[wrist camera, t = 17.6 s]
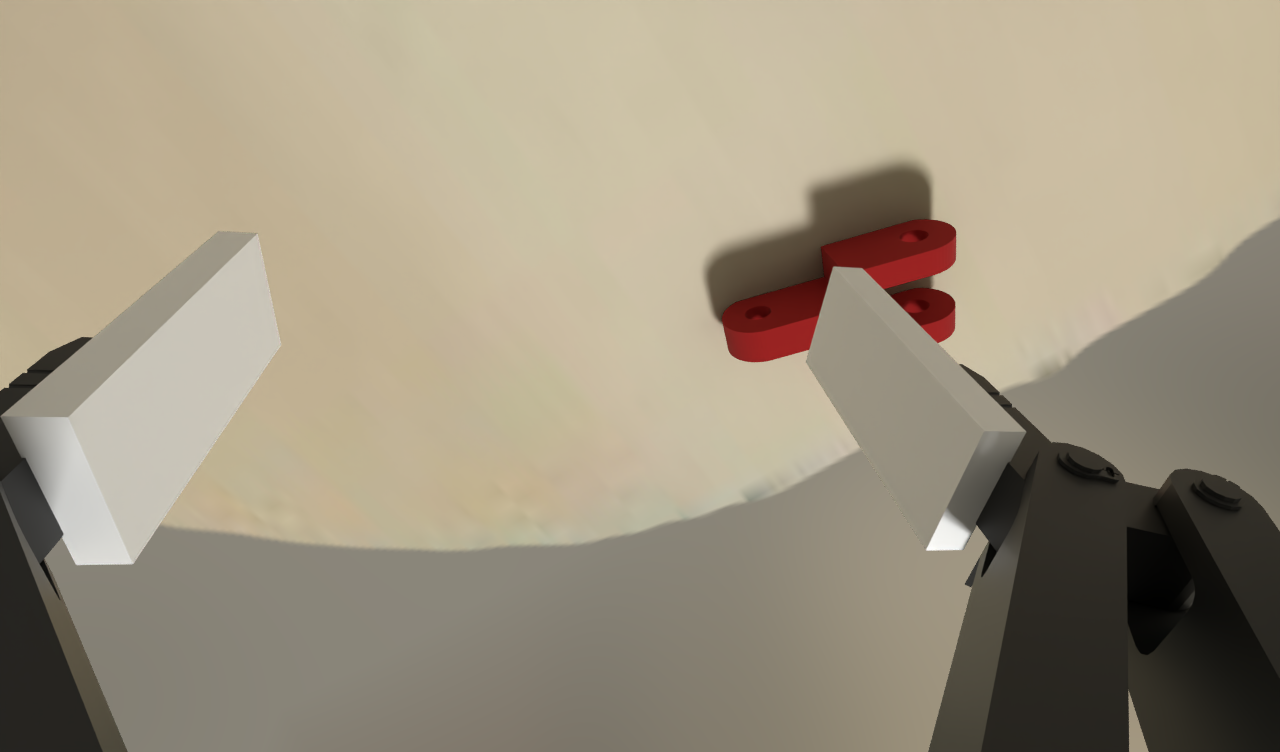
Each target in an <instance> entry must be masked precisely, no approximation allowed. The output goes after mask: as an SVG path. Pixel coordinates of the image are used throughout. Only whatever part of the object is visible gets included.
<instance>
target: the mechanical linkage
mask: <svg viewBox="0 0 1280 752" xmlns="http://www.w3.org/2000/svg"><path fill="white" fill-rule="evenodd" d="M821 252H822V261H823V270H824V277H822V278H819V279H815V280H812V281H808V282H805V283H801V284H798V285H794V286H791V287H787V288H784V289H780V290H777V291H773V292H770V293H766V294H763V295H759V296H756V297H752V298H749V299H745V300H741V301H738V302H735V303H734V304H732V305H731V306H729V307H728V308H727V309H726V310H725V312H724V313H723V315H722V322H723V327H724V332H725V336H726V341H727V345H728V350H729V352H730V354H731V355H732V356H733V357H735V358H737V359H739V360H742V361H747V362H764V361H770V360H774V359H777V358H781V357H784V356H788V355H792V354H795V353H799V352H802V351H806V350H809V349H810V346H811V342H812V339H813V335H814V332H815V328H816V325H817V321H818V318H819V314H820V311H821V307H822V304H823V300H824V297H825V293H826V290H827V286H828V283H829V280H830V276H831V273H832V269H833V267H850V268H863V269H864V270H865V271H866V272H867V273H868V274H869V275H870V276H871V277H872V278H873V279H874V280H875V281H876V282H877V283H878V284H879V285H880V286H881V287H882V288H883V289H886V288H890V287H893V286H897V285H900V284H904V283H907V282H911V281H915V280H918V279H922V278H925V277H929V276H932V275H935V274H938V273H941V272H943V271H945V270H947V269H948V268H950V267H951V266H952V265H953V264H954V262H955V260H956V230H955V228H954V227H953V226H952V225H950V224H948V223H945V222H942V221H938V220H927V219H922V220H912V221H908V222H905V223H901V224H898V225H894V226H891V227H887V228H884V229H880V230H877V231H873V232H870V233H866V234H863V235H859V236H856V237H852V238H849V239H845V240H842V241H838V242H835V243H831V244H828V245H824V246H821ZM890 296H891V297H892V298H893V299H894V300H895V301H896V302H897V303H898V304H899V305H900V306H901V307H902V308H903V309H904V310H905V311H906V312H907V313H908V314H909V315H910V316H911V317H912V318H913V319H914V320H915V321H916V322H917V323H918V324H919V325H920V326H921V327H922V328H923V329H924V330H925V331H926V332H927V333H928V334H929V335H930V336H931V337H932V338H933V339H934V340H935V341H936V342H937V343H939V342H942V341H944V340H945V339H947V338H948V337H950V336H951V335H952V333H953V332H954V330H955V301H954V299H953V298H952V297H951V296H950V295H949V294H947V293H945V292H942V291H939V290H935V289H929V288H914V289H910V290H907V291H903V292H900V293H896V294H893V295H890Z"/></svg>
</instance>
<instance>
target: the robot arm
mask: <svg viewBox="0 0 1280 752" xmlns="http://www.w3.org/2000/svg"><path fill="white" fill-rule="evenodd" d="M280 346H281V342H280V337H279V332H278V328H277V323H276V318H275V313H274V309H273V304H272V299H271V294H270V290H269V285H268V280H267V275H266V271H265V266H264V261H263V257H262V252H261V247H260V242H259V238H258V233H244V232H226V231H218V232H217V233H216V234H215V235H213V236H212V237H211V238H210V239H209V240H207V241H206V242H205V243H204V244H203V245H202V246H200V247H199V248H198V249H197V250H196V251H194V252H193V253H192V254H191V255H190V256H189V257H187V258H186V259H185V260H184V261H183V262H182V263H180V264H179V265H178V266H177V267H176V268H174V269H173V270H172V271H171V272H170V273H169V274H167V275H166V276H165V277H164V278H163V279H162V280H160V281H159V282H158V283H157V284H156V285H154V286H153V287H152V288H151V289H150V290H149V291H147V292H146V293H145V294H144V295H143V296H141V297H140V298H139V299H138V300H137V301H136V302H134V303H133V304H132V305H131V306H130V307H129V308H127V309H126V310H125V311H124V312H123V313H121V314H120V315H119V316H118V317H117V318H116V319H114V320H113V321H112V322H111V323H110V324H108V325H107V326H106V327H105V328H104V329H103V330H101V331H100V332H99V333H98V334H97V335H96V336H94V337H93V338H90V337H81V338H79V339H77V340H74V341H72V342H70V343H68V344H66V345H63V346H61V347H59V348H57V349H55V350H52V351H50V352H49V353H47V354H46V355H45V356H44V357H42V358H41V359H40V360H39V361H37V362H36V363H35V364H34V365H32V366H31V367H30V368H29V369H27V373H22V374H21V375H20V376H19V377H17V378H16V379H15V380H14V381H12V382H11V383H10V384H9V388H4V389H2V390H1V391H0V752H127V749H126V747H125V744H124V742H123V740H122V737H121V735H120V733H119V730H118V728H117V725H116V723H115V721H114V718H113V716H112V714H111V711H110V709H109V707H108V704H107V702H106V699H105V697H104V695H103V692H102V690H101V688H100V685H99V683H98V681H97V678H96V676H95V674H94V671H93V669H92V666H91V664H90V662H89V659H88V657H87V654H86V652H85V650H84V647H83V645H82V642H81V640H80V638H79V635H78V633H77V631H76V628H75V626H74V624H73V621H72V619H71V616H70V614H69V612H68V609H67V607H66V605H65V602H64V600H63V597H62V595H61V593H60V590H59V588H58V586H57V583H56V581H55V579H54V577H53V574H52V572H51V570H50V568H49V566H48V565H47V563H46V561H45V559H44V558H45V557H46V555H47V554H48V553H49V552H50V551H51V549H52V548H53V547H54V546H55V545H56V543H57V542H58V541H59V540H60V538H61V537H62V538H63V540H64V542H65V544H66V546H67V548H68V550H69V552H70V554H71V556H72V558H73V560H74V561H75V564H76V565H103V564H133V563H134V562H135V560H136V559H137V557H138V556H139V554H140V553H141V551H142V550H143V548H144V547H145V545H146V544H147V542H148V541H149V540H150V538H151V537H152V535H153V534H154V532H155V531H156V529H157V528H158V526H159V525H160V523H161V522H162V520H163V519H164V517H165V516H166V514H167V513H168V511H169V510H170V508H171V507H172V506H173V504H174V503H175V501H176V500H177V498H178V497H179V495H180V494H181V492H182V491H183V489H184V488H185V486H186V485H187V483H188V482H189V480H190V479H191V477H192V476H193V474H194V473H195V471H196V470H197V469H198V467H199V466H200V464H201V463H202V461H203V460H204V458H205V457H206V455H207V454H208V452H209V451H210V449H211V448H212V446H213V445H214V443H215V442H216V440H217V439H218V437H219V436H220V435H221V433H222V432H223V430H224V429H225V427H226V426H227V424H228V423H229V421H230V420H231V418H232V417H233V415H234V414H235V412H236V411H237V409H238V408H239V406H240V405H241V403H242V402H243V401H244V399H245V398H246V396H247V395H248V393H249V392H250V390H251V389H252V387H253V386H254V384H255V383H256V381H257V380H258V378H259V377H260V375H261V374H262V372H263V371H264V369H265V368H266V366H267V365H268V364H269V362H270V361H271V359H272V358H273V356H274V355H275V353H276V352H277V350H278V349H279V347H280ZM806 363H807V364H808V366H809V368H810V369H811V371H812V372H813V374H814V375H815V377H816V379H817V380H818V382H819V383H820V385H821V386H822V388H823V390H824V391H825V393H826V394H827V396H828V397H829V399H830V401H831V402H832V404H833V405H834V407H835V408H836V410H837V412H838V413H839V415H840V416H841V418H842V419H843V421H844V423H845V424H846V426H847V427H848V429H849V430H850V432H851V434H852V435H853V437H854V438H855V440H856V441H857V443H858V445H859V446H860V448H861V449H862V451H863V452H864V454H865V456H866V457H867V459H868V460H869V462H870V463H871V465H872V466H873V468H874V470H875V471H876V473H877V474H878V476H879V478H880V479H881V481H882V482H883V484H884V485H885V487H886V489H887V490H888V492H889V493H890V495H891V497H892V498H893V500H894V501H895V503H896V504H897V506H898V507H899V509H900V511H901V512H902V514H903V515H904V517H905V518H906V520H907V522H908V523H909V525H910V526H911V528H912V530H913V531H914V533H915V534H916V536H917V537H918V539H919V541H920V542H921V544H922V545H923V547H924V548H925V550H963V549H964V548H965V546H966V544H967V542H968V540H969V539H970V537H971V535H972V533H973V531H974V529H975V527H976V525H977V526H978V527H979V529H980V530H981V531H982V532H983V534H984V535H985V536H986V538H987V539H988V541H989V542H988V543H987V545H986V547H985V549H984V551H983V552H982V554H981V556H980V558H979V559H978V561H977V563H976V565H975V567H974V569H973V570H972V572H971V574H970V576H969V577H968V579H967V581H966V583H965V585H967V586H970V587H972V590H971V594H970V597H969V601H968V605H967V608H966V612H965V616H964V620H963V623H962V627H961V631H960V635H959V638H958V643H957V646H956V650H955V654H954V657H953V661H952V665H951V668H950V673H949V676H948V680H947V683H946V687H945V691H944V695H943V699H942V703H941V706H940V710H939V714H938V717H937V721H936V725H935V729H934V733H933V736H932V740H931V744H930V747H929V751H928V752H1129V713H1128V712H1129V711H1128V709H1129V707H1128V689H1129V692H1130V695H1131V698H1132V702H1133V704H1134V707H1135V711H1136V714H1137V717H1138V720H1139V723H1140V726H1141V729H1142V732H1143V736H1144V739H1145V742H1146V745H1147V748H1148V751H1149V752H1280V531H1279V530H1278V528H1277V527H1276V525H1275V524H1274V523H1273V521H1272V520H1271V518H1270V517H1269V515H1268V514H1267V513H1266V511H1265V510H1264V508H1263V507H1262V506H1261V505H1260V504H1259V503H1258V502H1257V501H1256V500H1255V499H1254V498H1253V497H1252V496H1250V495H1249V494H1248V493H1246V492H1245V491H1243V490H1242V489H1240V487H1239V486H1238V485H1236V484H1235V483H1233V482H1231V481H1228V482H1227V481H1226V479H1225V478H1222V477H1220V476H1217V475H1211V474H1208V473H1205V472H1202V471H1197V470H1191V469H1178V470H1175V471H1174V472H1173V473H1171V474H1170V476H1169V477H1168V478H1167V480H1166V481H1165V483H1164V484H1163V485H1162V487H1161V488H1160V489H1155V488H1151V487H1146V486H1142V485H1137V484H1132V483H1128V482H1125V480H1124V477H1123V475H1122V474H1121V473H1120V471H1118V469H1117V468H1116V467H1115V466H1114V465H1112V464H1111V463H1110V462H1108V461H1107V460H1105V459H1104V458H1102V457H1101V456H1099V455H1097V454H1095V453H1093V452H1091V451H1089V450H1086V449H1084V448H1081V447H1078V446H1074V445H1071V444H1068V443H1055V442H1053V443H1051V442H1050V441H1049V440H1048V439H1047V438H1046V437H1045V436H1044V435H1043V434H1042V433H1041V432H1040V431H1039V430H1038V429H1037V428H1036V427H1035V426H1034V425H1032V424H1031V422H1030V421H1028V420H1027V419H1026V418H1025V417H1024V416H1023V415H1022V414H1021V413H1020V412H1019V411H1018V410H1017V409H1016V408H1012V404H1011V403H1010V402H1009V401H1008V400H1007V399H1006V398H1005V397H1004V396H1002V395H999V393H1000V392H999V391H998V390H996V389H995V388H994V387H993V386H992V385H991V384H990V383H989V382H988V381H987V380H986V379H985V378H984V377H982V376H981V375H979V374H977V373H976V372H974V371H972V370H971V369H969V368H967V367H966V366H964V365H962V364H958V363H957V362H956V361H955V360H954V359H953V358H952V357H951V356H950V355H949V354H948V353H947V352H946V351H945V350H944V349H943V348H942V347H941V346H940V345H939V344H938V343H937V342H936V341H935V340H934V339H933V338H932V337H931V336H930V335H929V334H928V333H927V332H926V331H925V330H924V329H923V328H922V327H921V326H920V325H919V324H918V323H917V322H916V321H915V320H914V319H913V318H912V317H911V316H910V315H909V314H908V313H907V312H906V311H905V310H904V309H903V308H902V307H901V306H900V305H899V304H898V303H897V302H896V301H895V300H894V299H893V298H892V297H891V296H890V295H889V294H888V293H887V292H886V291H885V290H884V289H883V288H882V287H881V286H880V285H879V284H878V283H877V282H876V281H875V280H874V279H873V278H872V277H871V276H870V275H869V274H868V273H867V272H866V271H865V270H864V269H863V268H850V267H833V269H832V273H831V276H830V280H829V283H828V286H827V290H826V293H825V297H824V300H823V304H822V307H821V311H820V314H819V318H818V321H817V325H816V328H815V332H814V335H813V339H812V342H811V346H810V349H809V353H808V356H807V360H806ZM972 585H973V586H972Z"/></svg>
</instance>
